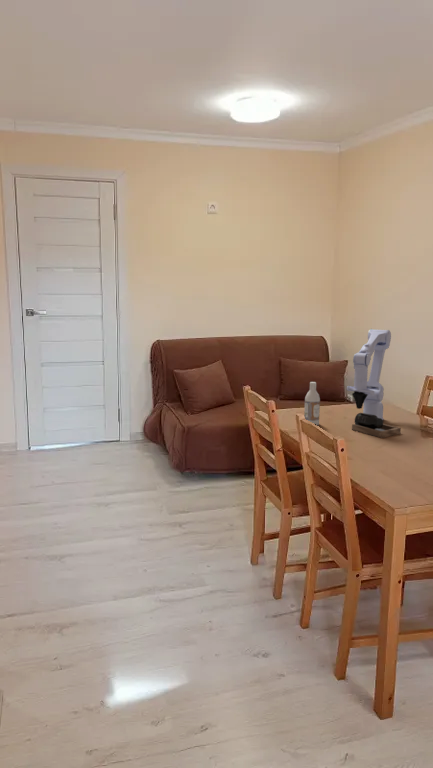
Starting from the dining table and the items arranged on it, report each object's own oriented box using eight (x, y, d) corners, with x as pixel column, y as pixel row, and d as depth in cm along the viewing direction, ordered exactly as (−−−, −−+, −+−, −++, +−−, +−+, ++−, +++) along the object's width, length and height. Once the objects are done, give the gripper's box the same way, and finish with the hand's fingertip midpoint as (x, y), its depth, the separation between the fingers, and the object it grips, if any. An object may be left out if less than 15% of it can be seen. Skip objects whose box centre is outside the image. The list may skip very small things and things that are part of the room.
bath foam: (311, 426, 271) (312, 384, 267) (301, 423, 276) (302, 381, 273) (322, 424, 274) (323, 382, 271) (311, 421, 280) (313, 380, 276)
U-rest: (370, 425, 273) (370, 420, 272) (400, 433, 260) (400, 428, 259) (351, 430, 265) (352, 424, 265) (381, 438, 252) (381, 432, 252)
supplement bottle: (366, 416, 271) (387, 420, 262) (360, 429, 270) (381, 434, 260) (358, 409, 268) (379, 413, 258) (351, 422, 266) (372, 427, 256)
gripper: (342, 377, 270) (341, 406, 272) (367, 382, 258) (365, 412, 261) (353, 376, 274) (351, 404, 276) (377, 380, 262) (376, 410, 265)
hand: (359, 408), depth 269 cm, fingers closed
